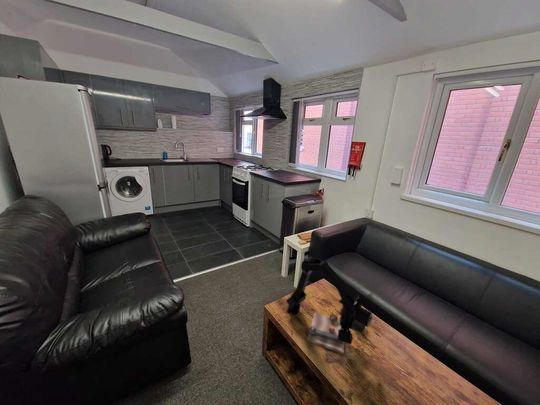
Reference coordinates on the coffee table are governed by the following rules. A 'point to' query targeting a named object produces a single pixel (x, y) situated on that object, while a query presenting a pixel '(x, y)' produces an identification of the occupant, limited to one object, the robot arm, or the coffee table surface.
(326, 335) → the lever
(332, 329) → the terracotta cube
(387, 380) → the coffee table surface
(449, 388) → the coffee table surface
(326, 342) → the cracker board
